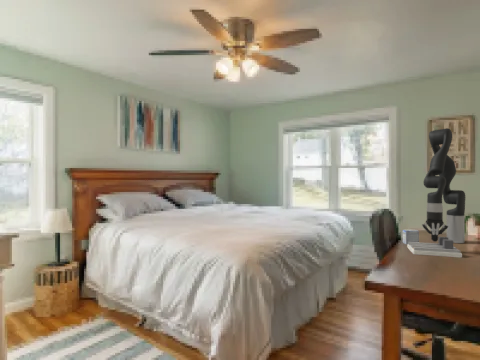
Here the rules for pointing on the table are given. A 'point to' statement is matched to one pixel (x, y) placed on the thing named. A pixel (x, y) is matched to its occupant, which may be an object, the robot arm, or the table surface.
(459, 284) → the table surface
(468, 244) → the table surface
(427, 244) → the switch board
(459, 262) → the table surface
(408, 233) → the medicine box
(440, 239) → the inner tab
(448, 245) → the grey slider block
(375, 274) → the table surface
